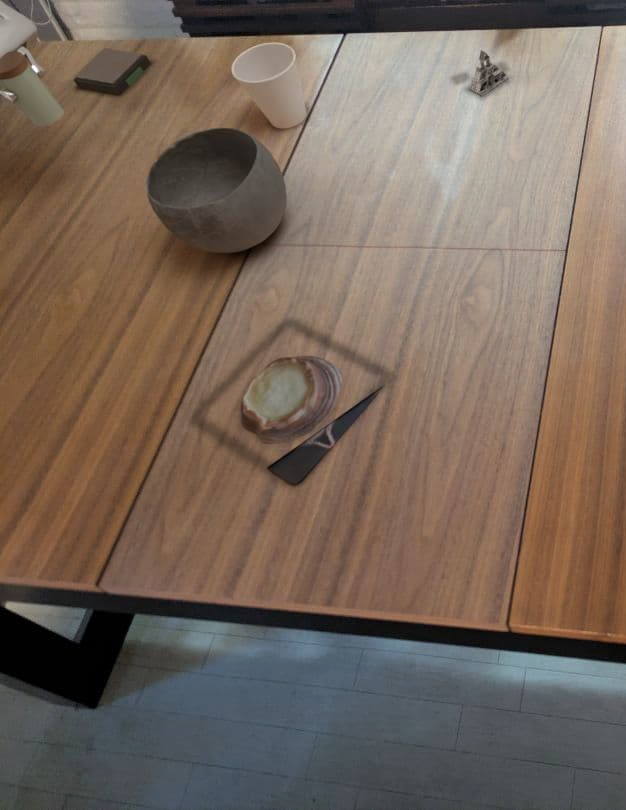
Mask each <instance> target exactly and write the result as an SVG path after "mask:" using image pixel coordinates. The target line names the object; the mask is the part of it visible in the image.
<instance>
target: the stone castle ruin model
mask: <svg viewBox="0 0 626 810" xmlns="http://www.w3.org/2000/svg"><path fill="white" fill-rule="evenodd" d="M490 58H491V57H490V56H489V55H488V54H487V52H486V51H484V50H482V49H481V50H480V53H479V58H478V61H479V64H480V67H479V66H476V67H475V72H474V77H472V78H471V82H470V86H469V90H471V91H472V92H474V94H478V95H480V96H481V97H484V96H485V95H486V94H487V93H489V92H491V91H493V89H495V88H496V87H498V86H499V85H500V84H502V83H504V82H505V81H507V80H509V79H510V76H508V75H507V74H506V73H505V72H504V70H502V69H500V68H499V67H498V66H497V65H496V64H495V63H494V62H492V61H490V60H491V59H490ZM496 89H497V88H496Z"/></svg>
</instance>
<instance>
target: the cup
mask: <svg viewBox="0 0 626 810" xmlns="http://www.w3.org/2000/svg"><path fill="white" fill-rule="evenodd" d="M230 70H231V75H232V76H233V78H234V79H235V80H237V82H238V83H239V84H240V85H241V87H242V88H243V90H245V92H246V93H247V94H248V96H249V98H251V100H252V101H253V102H254V103H255V105H256V106H257V107H258V108H259V110H260V111H261V112H262V113H263V115H264V116H265V118H266V119H267V120H268V121H269V122H270V124H271V125H272V126H273V127H274V128H276V129H281V130H282V129H283V130H284V129H290V128H294V127H296V126H299V124H301V123H302V122H303V121H304V120H305V118H306V117H307V109H306V108H307V107H306V104H305V103H306V102H305V98H304V93H303V87H302V83H301V78H300V77H301V76H300V73H299V67H298V63H297V55H296V51H295V49H293V48H292V47H291V45H288V44H286V43H282V42H272V41H271V42H263V43H260V44H257V45H255V46H251V47H249V48H248V49H245V50H244V51H242V52H241V53H240V54H239V55H238V56H237V57H236V58H235V59H234V60H233V62H232V64H231V68H230Z"/></svg>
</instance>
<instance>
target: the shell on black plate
mask: <svg viewBox="0 0 626 810" xmlns="http://www.w3.org/2000/svg"><path fill="white" fill-rule="evenodd" d="M342 384H343V374H342V371H341V370H340V369H339V367H337V365H336V364H334V363H332V362H331V361H329V360H326V359H324V358H322V357H320V356H319V357H318V356H314V355H303V356H302V355H301V356H292V357H291V356H285V357H279V358H277V359H275V360H273V361H271V362H270V363H269V364H268V365H266V366H265V368H264V369H263V371H262V372H261V373H260V374H258V375H257V376H254V377H253V378H252V380H251V382H250V383H249V384H248V385H247V387H246V389H245V391H244V393H243V395H242V397H241V402H240V403H241V405H240V412H241V425H242V427H243V428H244V429H245V430H246V431H247V432H249V433H252V434H254V435H256V436H257V437H258V438H259V440H260V442H261V443H263V444H264V445H275V444H284V443H285V444H287V443H291V442H294V441H295V440H298V439H300V438H302V437H304V436H306V435H309V434H312V432H314V431H315V430H316V429H317V428H318V427H319V426H320V425H321V424H322V423H323V422H324V421H325V420H326V419H327V418H328V416H329V415H330V413H331V412H332V409H333V408H334V407H335V404H336V400H337V398H338V395H339V393H340V390H341V387H342ZM384 386H385V385H384V384H383V385H382V386H380V387H379V388H378V389H376V390H374V391H373V392H371V393H370V394H368V395H367V396H366V397H364V398H363V399H362V400H360V401H359V402H357V403H356V404H355V405H353V406H352V407H351V408H349V409H348V410H346V411H345V412H343V413H342V414H341V415H339V416H338V417H336V418H335V419H333V420H332V421H331V422H329V423H328V424H326V425H325V426H324V427H322V428H321V429H320V430H318V431H316V432H315V433H314V434H312V435H311V436H310V437H308V438H307V439H305V440H304V441H302V442H300V443H299V444H298V445H297V446H295V447H294V448H292V449H291V450H289V451H288V452H287V453H286V454H284V455H283V456H281V457H280V458H278V459H277V460H276V461H274V462H273V463H271V464H270V465H268V466H267V467H266V469H268V470H270V471H271V472H273V473H274V474H276V475H277V476H279V477H280V478H281V479H283V480H285V481H286V482H288V483H289V484H293V485H295V484H298V483H300V482H301V481H302V480H303V479H304V478H305V477H306V476H307V475H308V473H310V471H311V470H312V469H313V468H314V467H315V466H316V465H317V463H319V462H320V460H321V459H323V457H324V456H325V455H326V454H327V453H328V452H329V451H330V450H331V449H332V448H333V446H335V444H337V442H338V441H339V440H340V439H341V438H342V437H343V435H344V434H345V433H346V432H347V431H348V429H349V428H350V427H351V426H352V425H353V423H354V422H355V421H356V420H357V419H358V418H359V416H360V415H361V414H362V412H363V411H364V410H365V409H366V408H367V407H368V406H369V404H370V403H371V402H372V400H373V399H374V398H375V397H376V396H377V395H378V393H379V392H380V391H381V389H382V388H383V387H384Z"/></svg>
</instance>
